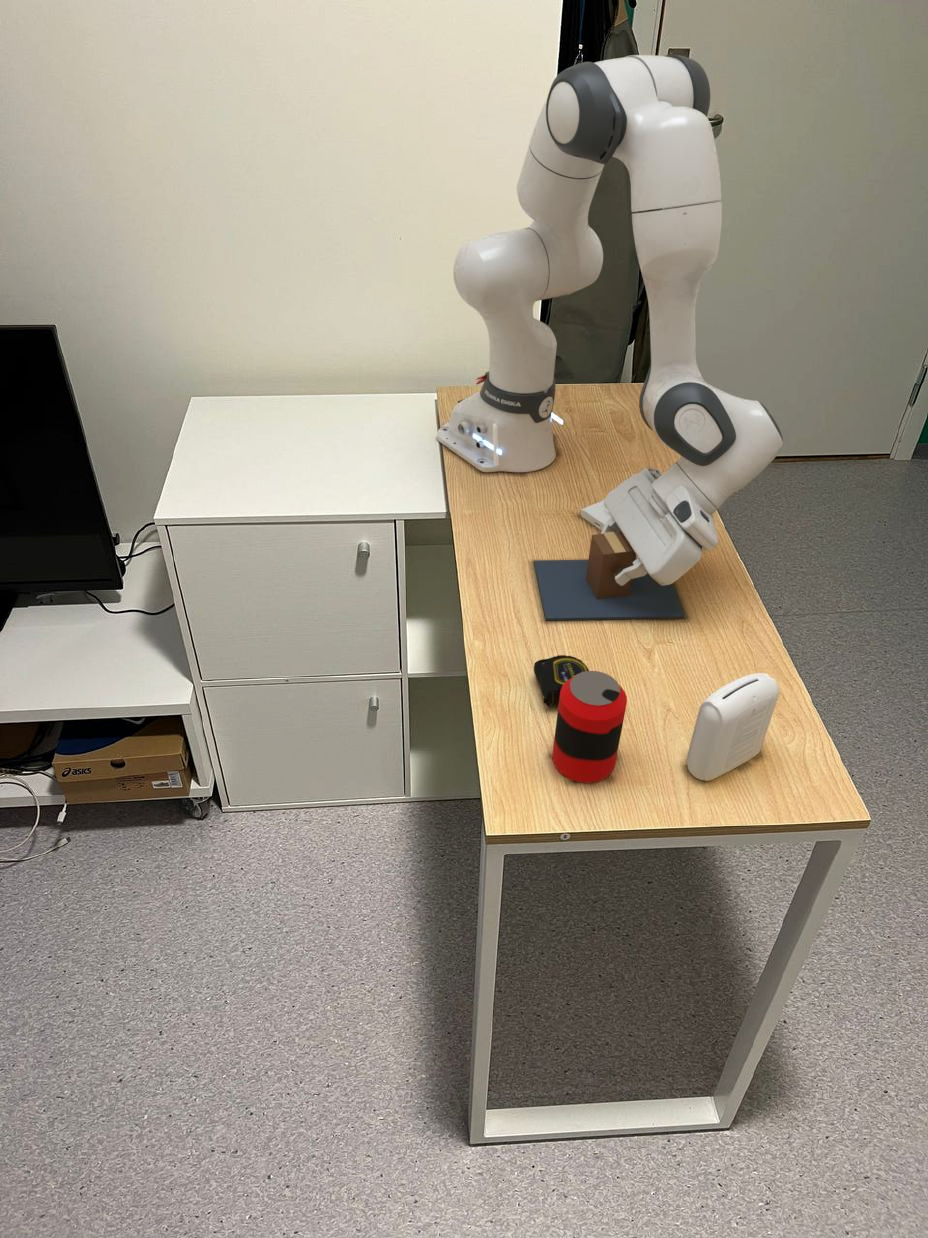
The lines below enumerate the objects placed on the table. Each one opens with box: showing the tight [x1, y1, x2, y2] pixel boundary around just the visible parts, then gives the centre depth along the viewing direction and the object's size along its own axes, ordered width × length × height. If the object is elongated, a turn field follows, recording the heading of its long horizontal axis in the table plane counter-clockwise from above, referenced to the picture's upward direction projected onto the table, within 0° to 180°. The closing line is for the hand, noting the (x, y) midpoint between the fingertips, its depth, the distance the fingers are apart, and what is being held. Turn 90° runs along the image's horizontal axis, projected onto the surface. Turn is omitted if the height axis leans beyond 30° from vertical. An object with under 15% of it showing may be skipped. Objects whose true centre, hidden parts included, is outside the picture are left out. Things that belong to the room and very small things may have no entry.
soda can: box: [551, 670, 628, 784], centre depth 112 cm, size 8×8×12 cm
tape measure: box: [533, 654, 590, 707], centre depth 124 cm, size 7×7×4 cm
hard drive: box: [579, 499, 622, 532], centre depth 157 cm, size 2×8×12 cm
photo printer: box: [685, 672, 780, 782], centre depth 112 cm, size 10×4×12 cm, turn 123°
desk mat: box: [533, 558, 686, 622], centre depth 142 cm, size 20×14×1 cm
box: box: [586, 532, 637, 599], centre depth 139 cm, size 5×5×8 cm
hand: (606, 563), depth 139 cm, fingers open, 7 cm apart
